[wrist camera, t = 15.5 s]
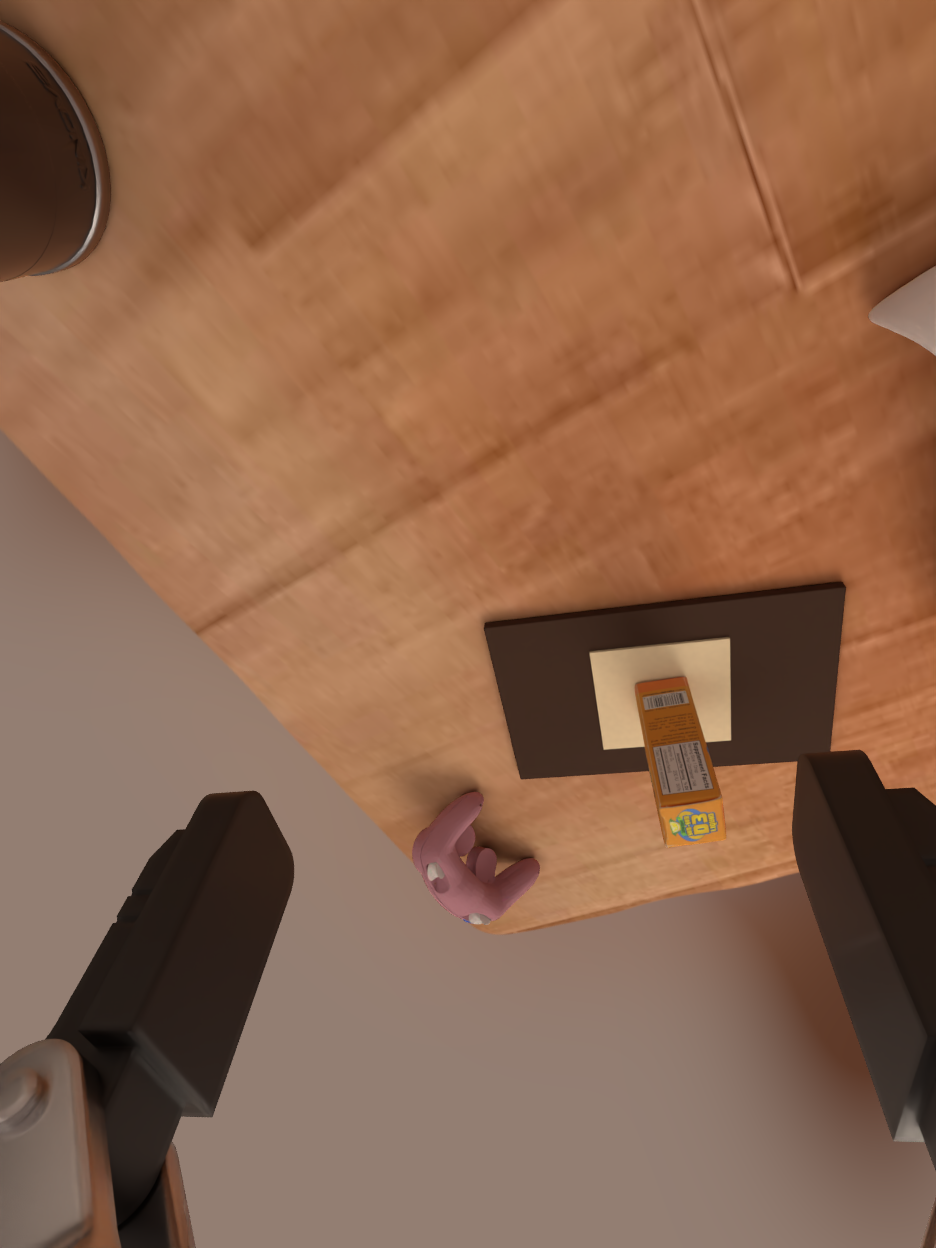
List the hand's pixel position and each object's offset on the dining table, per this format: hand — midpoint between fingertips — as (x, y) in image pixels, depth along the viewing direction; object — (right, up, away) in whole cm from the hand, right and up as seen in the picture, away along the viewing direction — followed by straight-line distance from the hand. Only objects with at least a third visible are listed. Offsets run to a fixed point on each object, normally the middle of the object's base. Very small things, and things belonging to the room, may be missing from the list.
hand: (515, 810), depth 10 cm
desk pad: (+11, -1, +33) cm, 35 cm away
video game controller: (0, -13, +43) cm, 45 cm away
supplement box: (+11, -2, +32) cm, 34 cm away
